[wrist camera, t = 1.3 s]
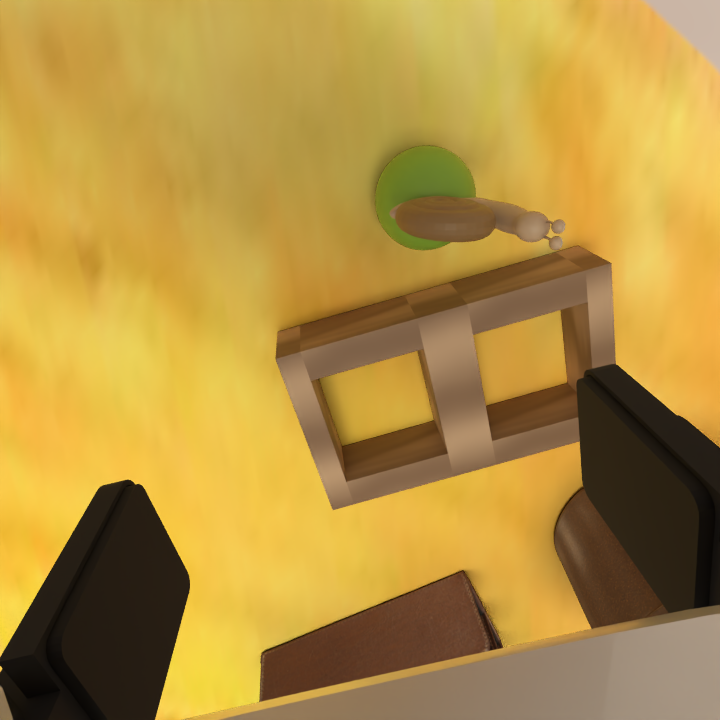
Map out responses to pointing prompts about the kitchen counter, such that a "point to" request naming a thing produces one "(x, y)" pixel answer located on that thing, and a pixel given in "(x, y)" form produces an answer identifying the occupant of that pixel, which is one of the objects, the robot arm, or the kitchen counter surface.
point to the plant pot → (601, 568)
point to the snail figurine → (447, 204)
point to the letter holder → (383, 640)
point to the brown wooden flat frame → (450, 373)
